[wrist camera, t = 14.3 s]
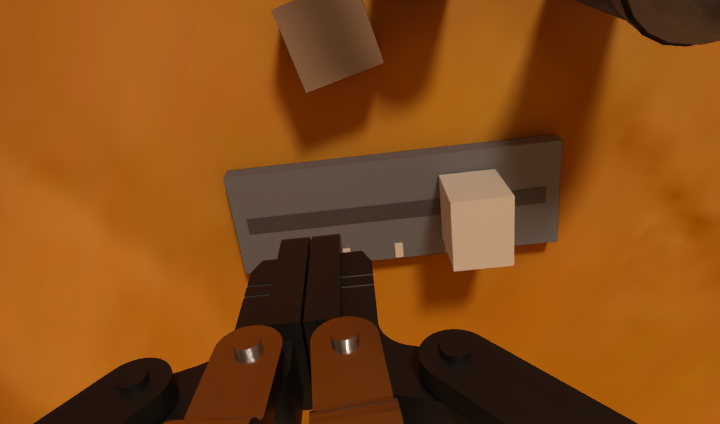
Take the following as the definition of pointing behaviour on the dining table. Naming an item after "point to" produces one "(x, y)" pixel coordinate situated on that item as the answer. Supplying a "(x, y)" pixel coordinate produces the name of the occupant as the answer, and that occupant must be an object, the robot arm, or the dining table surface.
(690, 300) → the dining table surface
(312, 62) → the walnut block
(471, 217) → the knob
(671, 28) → the beverage cup
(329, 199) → the board
